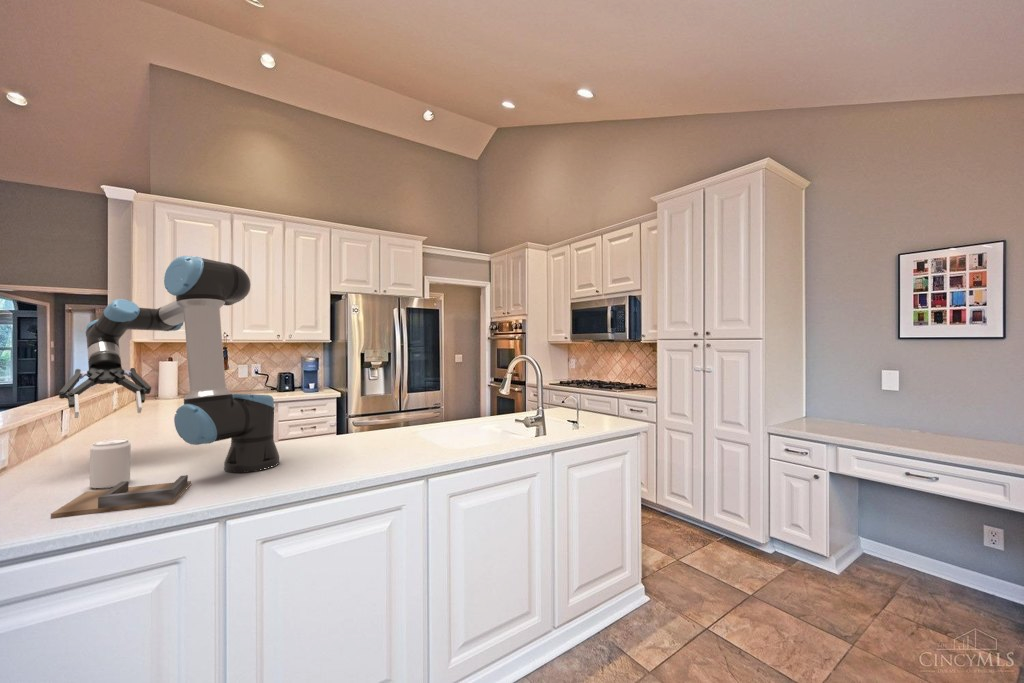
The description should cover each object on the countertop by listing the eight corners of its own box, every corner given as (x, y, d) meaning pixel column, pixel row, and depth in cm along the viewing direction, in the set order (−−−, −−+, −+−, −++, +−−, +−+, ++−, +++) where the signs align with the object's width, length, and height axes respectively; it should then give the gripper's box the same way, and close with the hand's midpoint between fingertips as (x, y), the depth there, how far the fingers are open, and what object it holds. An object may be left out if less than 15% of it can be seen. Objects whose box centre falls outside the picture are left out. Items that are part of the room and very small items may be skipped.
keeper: (191, 484, 119) (191, 471, 119) (173, 503, 104) (173, 489, 104) (86, 495, 109) (86, 481, 110) (50, 518, 95) (50, 502, 95)
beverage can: (105, 491, 113) (106, 445, 113) (81, 488, 114) (82, 444, 115) (137, 481, 121) (138, 439, 121) (114, 479, 122) (115, 437, 123)
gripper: (153, 366, 147) (161, 415, 137) (46, 368, 129) (46, 425, 119) (156, 351, 144) (165, 400, 134) (47, 351, 125) (47, 408, 115)
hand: (109, 412), depth 126 cm, fingers open, 13 cm apart
